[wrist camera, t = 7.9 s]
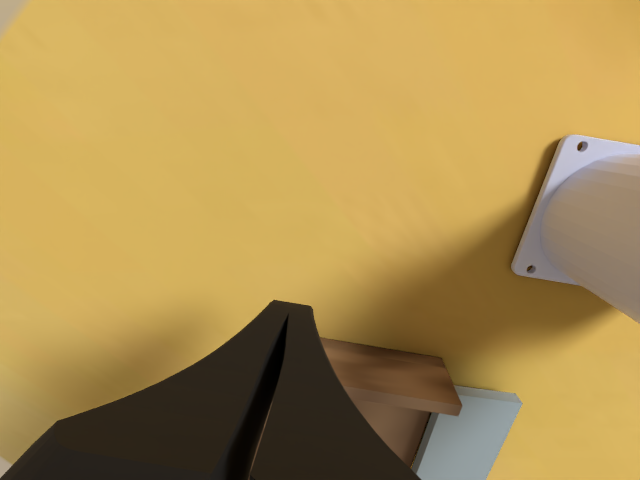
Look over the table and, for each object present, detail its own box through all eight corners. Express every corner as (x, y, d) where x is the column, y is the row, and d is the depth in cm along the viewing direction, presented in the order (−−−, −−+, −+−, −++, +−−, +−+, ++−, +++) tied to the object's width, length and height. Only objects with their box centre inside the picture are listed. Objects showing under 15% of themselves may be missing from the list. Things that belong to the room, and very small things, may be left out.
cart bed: (441, 358, 22) (462, 405, 18) (402, 470, 26) (413, 529, 22) (267, 328, 22) (252, 370, 18) (252, 445, 26) (238, 500, 22)
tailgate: (442, 383, 21) (515, 393, 21) (408, 476, 24) (473, 483, 24) (446, 393, 20) (522, 403, 21) (411, 487, 23) (478, 495, 24)
